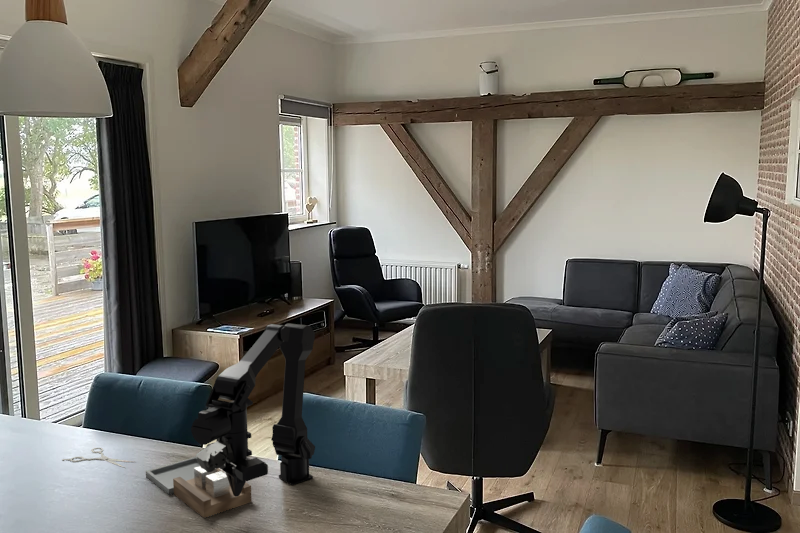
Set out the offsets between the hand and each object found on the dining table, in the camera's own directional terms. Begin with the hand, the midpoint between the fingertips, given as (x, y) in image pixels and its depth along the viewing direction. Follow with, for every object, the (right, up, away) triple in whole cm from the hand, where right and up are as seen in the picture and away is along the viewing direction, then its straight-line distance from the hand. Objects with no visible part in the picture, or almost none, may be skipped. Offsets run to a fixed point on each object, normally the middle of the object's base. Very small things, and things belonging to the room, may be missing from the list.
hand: (236, 495), depth 158 cm
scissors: (-44, -1, +33) cm, 54 cm away
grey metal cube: (-10, -1, +11) cm, 15 cm away
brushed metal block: (-6, -2, +7) cm, 9 cm away
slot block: (-8, -4, +9) cm, 13 cm away
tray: (-18, -2, +21) cm, 28 cm away
